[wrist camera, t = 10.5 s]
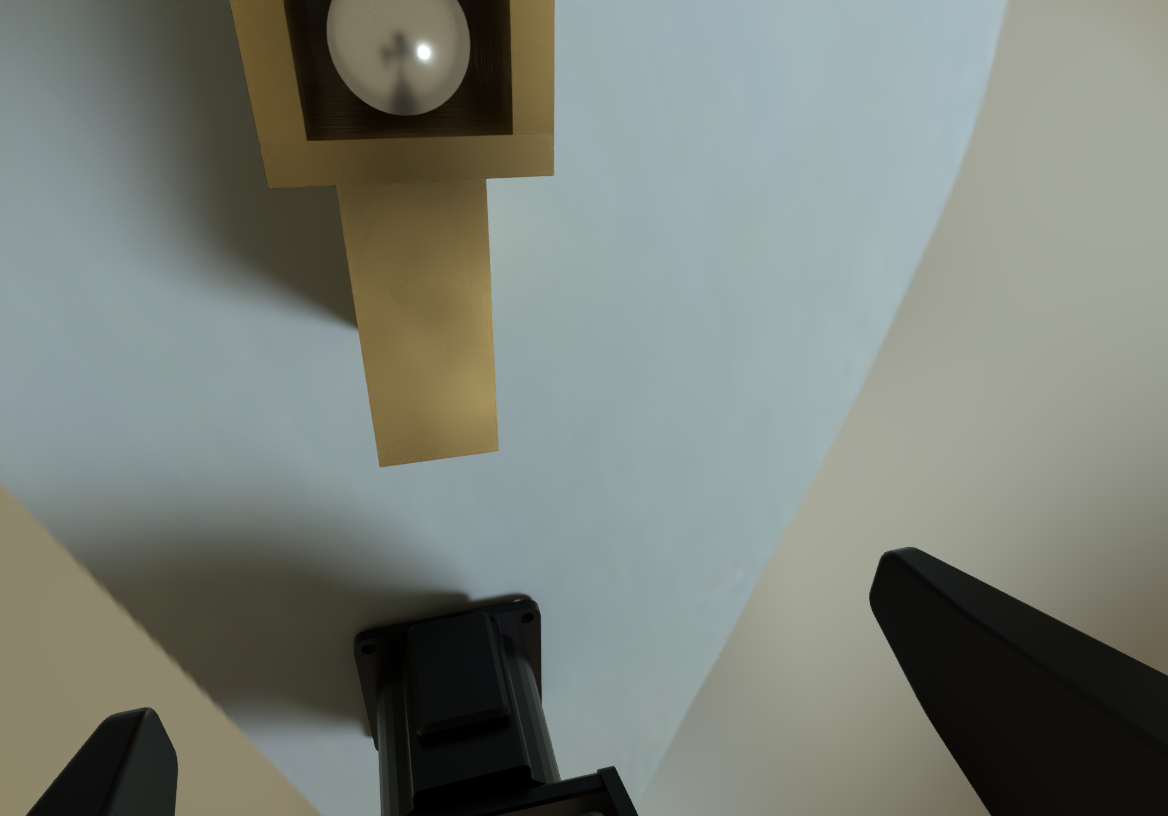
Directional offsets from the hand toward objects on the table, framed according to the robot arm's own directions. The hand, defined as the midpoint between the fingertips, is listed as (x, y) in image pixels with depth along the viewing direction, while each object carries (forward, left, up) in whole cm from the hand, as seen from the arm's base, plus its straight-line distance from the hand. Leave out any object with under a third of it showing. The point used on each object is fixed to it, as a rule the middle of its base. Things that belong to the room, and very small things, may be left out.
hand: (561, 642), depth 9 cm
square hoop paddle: (+3, +1, -12) cm, 13 cm away
